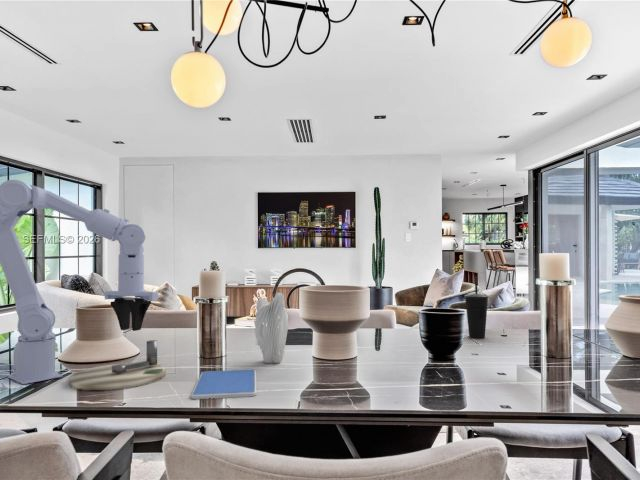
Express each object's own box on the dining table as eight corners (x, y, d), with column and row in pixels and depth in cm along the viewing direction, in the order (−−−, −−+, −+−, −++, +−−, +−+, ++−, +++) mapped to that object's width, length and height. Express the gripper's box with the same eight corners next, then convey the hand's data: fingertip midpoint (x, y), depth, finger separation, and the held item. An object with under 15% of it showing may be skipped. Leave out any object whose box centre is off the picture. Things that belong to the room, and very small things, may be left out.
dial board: (53, 379, 103) (53, 374, 103) (138, 363, 118) (138, 358, 118) (93, 396, 90) (93, 391, 90) (183, 375, 105) (183, 370, 105)
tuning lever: (115, 373, 102) (115, 348, 102) (109, 371, 104) (109, 346, 104) (159, 364, 110) (159, 341, 110) (153, 362, 112) (153, 339, 112)
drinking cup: (491, 336, 153) (490, 275, 154) (486, 340, 147) (485, 276, 148) (468, 334, 157) (467, 275, 158) (462, 338, 151) (461, 276, 152)
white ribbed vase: (257, 358, 122) (256, 290, 123) (288, 358, 123) (288, 290, 123) (253, 366, 114) (253, 293, 115) (287, 365, 114) (287, 292, 115)
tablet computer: (201, 376, 107) (201, 370, 107) (256, 373, 109) (256, 368, 109) (189, 402, 88) (189, 395, 88) (256, 399, 90) (256, 392, 90)
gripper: (166, 273, 114) (166, 328, 114) (119, 272, 119) (119, 326, 119) (146, 274, 108) (146, 333, 107) (98, 273, 113) (97, 330, 112)
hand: (130, 329), depth 112 cm, fingers open, 3 cm apart
